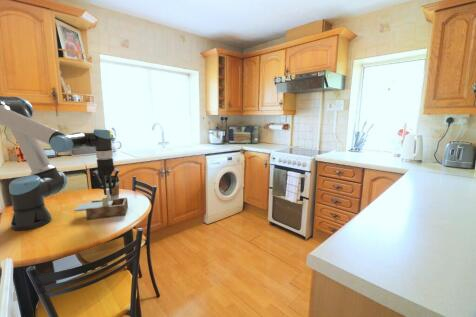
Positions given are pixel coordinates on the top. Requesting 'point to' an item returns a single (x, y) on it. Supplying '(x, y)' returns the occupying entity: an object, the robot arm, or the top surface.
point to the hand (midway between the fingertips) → (109, 200)
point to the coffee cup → (114, 190)
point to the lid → (94, 204)
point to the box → (108, 209)
